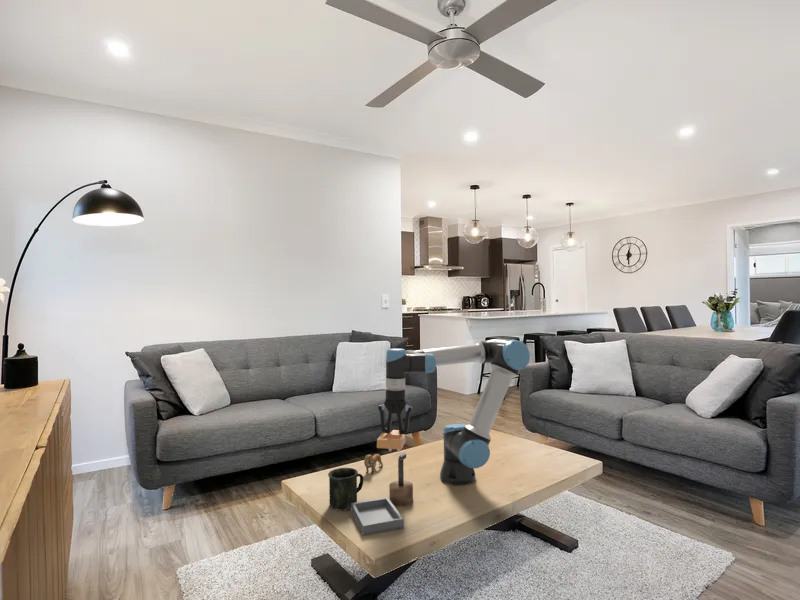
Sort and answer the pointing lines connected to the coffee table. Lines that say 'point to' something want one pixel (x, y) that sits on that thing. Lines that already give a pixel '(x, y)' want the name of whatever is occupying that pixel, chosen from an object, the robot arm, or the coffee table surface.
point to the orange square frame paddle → (391, 440)
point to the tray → (377, 516)
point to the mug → (343, 487)
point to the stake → (401, 487)
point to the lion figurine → (372, 462)
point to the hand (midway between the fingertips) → (394, 450)
